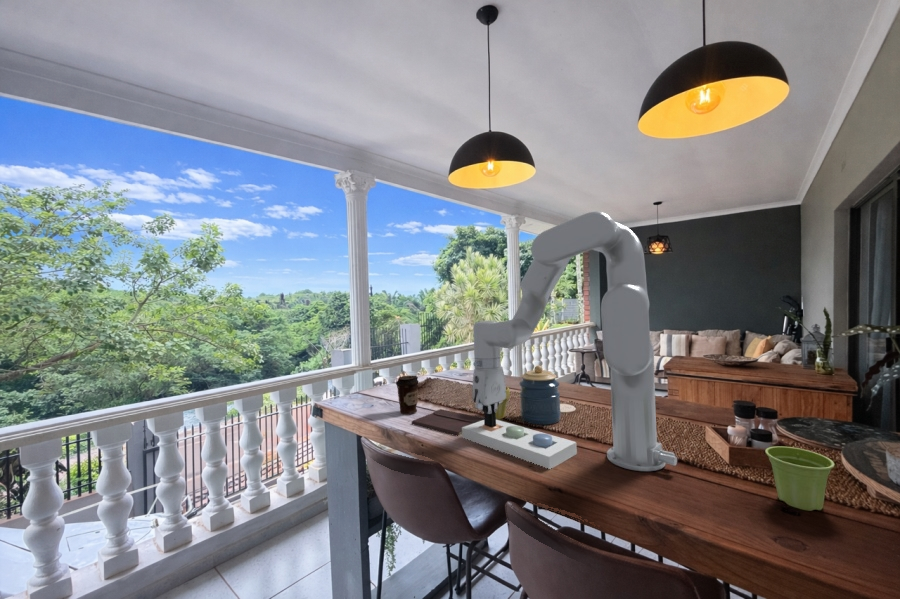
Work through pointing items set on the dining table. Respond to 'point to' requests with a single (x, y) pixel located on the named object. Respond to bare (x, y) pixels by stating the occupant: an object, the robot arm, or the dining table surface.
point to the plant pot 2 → (800, 476)
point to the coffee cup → (407, 394)
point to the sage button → (515, 432)
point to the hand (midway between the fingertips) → (490, 425)
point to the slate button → (542, 440)
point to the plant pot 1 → (502, 406)
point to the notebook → (446, 421)
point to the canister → (540, 397)
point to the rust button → (491, 428)
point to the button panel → (521, 444)
